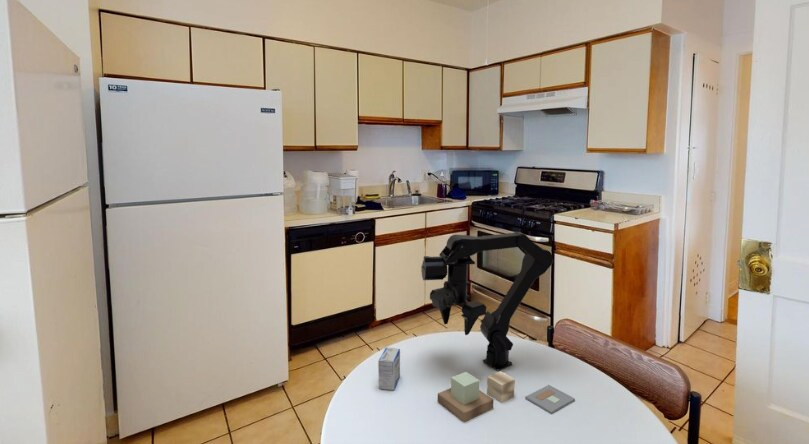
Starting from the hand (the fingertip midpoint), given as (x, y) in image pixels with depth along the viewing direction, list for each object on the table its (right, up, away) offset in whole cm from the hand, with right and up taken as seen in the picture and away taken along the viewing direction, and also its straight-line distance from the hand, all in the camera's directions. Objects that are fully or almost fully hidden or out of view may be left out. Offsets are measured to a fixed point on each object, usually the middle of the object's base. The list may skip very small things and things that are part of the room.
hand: (456, 329), depth 125 cm
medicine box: (-19, -14, -7) cm, 25 cm away
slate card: (+23, -15, -15) cm, 31 cm away
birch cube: (+10, -15, -12) cm, 22 cm away
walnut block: (0, -16, -17) cm, 23 cm away
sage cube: (0, -13, -18) cm, 22 cm away
